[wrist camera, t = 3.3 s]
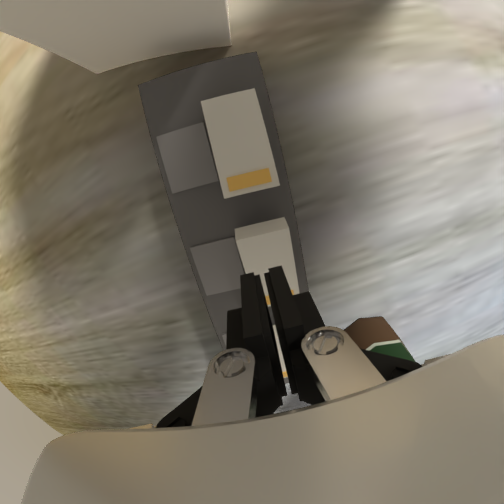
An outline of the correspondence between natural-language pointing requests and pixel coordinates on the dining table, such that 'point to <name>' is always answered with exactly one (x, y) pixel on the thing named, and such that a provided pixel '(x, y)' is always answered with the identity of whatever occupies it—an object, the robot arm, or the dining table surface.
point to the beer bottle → (377, 337)
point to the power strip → (214, 178)
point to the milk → (117, 28)
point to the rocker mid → (267, 251)
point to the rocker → (240, 143)
